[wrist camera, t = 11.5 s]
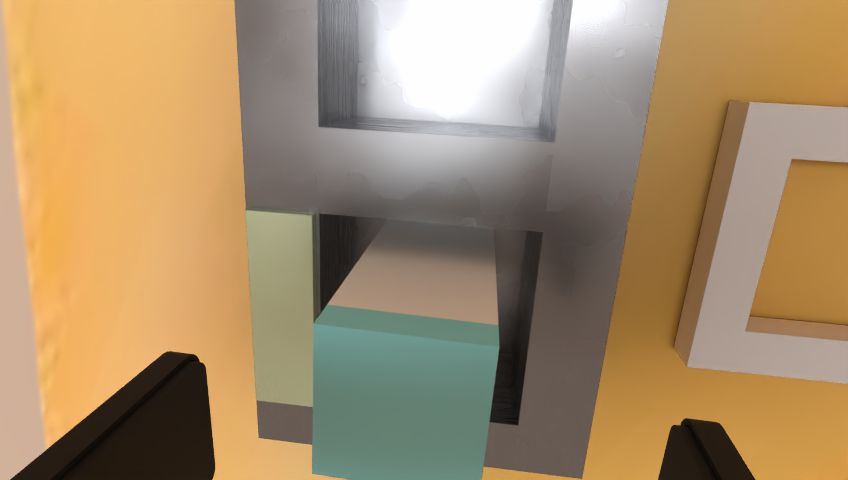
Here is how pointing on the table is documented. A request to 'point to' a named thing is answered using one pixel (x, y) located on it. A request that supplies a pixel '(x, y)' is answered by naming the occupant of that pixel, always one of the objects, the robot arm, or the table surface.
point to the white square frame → (757, 247)
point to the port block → (447, 182)
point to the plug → (408, 357)
